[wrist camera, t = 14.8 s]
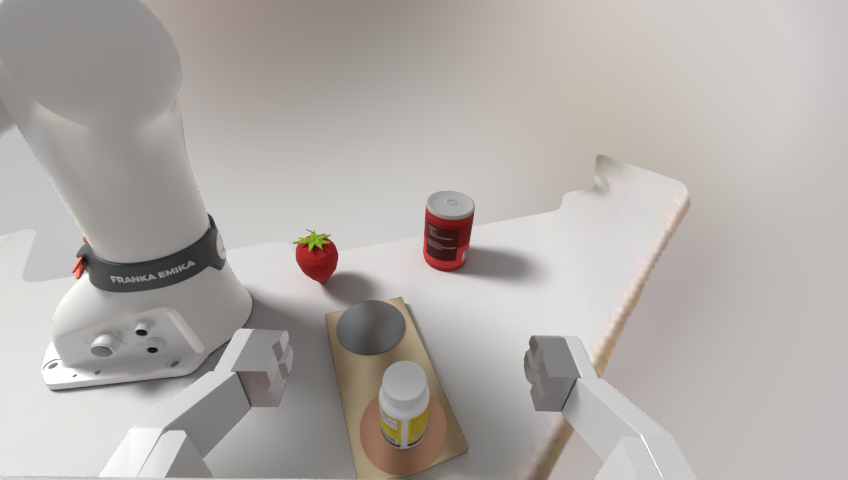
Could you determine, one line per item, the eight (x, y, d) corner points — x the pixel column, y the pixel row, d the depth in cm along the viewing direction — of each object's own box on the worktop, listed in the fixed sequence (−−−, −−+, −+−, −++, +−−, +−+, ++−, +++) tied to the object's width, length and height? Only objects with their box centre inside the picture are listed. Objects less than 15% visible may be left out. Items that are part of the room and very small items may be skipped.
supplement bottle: (425, 403, 39) (430, 356, 34) (427, 450, 35) (433, 404, 30) (381, 404, 39) (380, 356, 34) (378, 450, 35) (376, 404, 30)
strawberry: (308, 304, 52) (297, 249, 46) (296, 272, 57) (285, 220, 51) (347, 291, 54) (341, 238, 48) (333, 262, 59) (326, 211, 54)
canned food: (458, 241, 66) (464, 188, 60) (473, 269, 60) (483, 213, 54) (417, 246, 64) (420, 192, 58) (429, 275, 58) (434, 218, 52)
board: (361, 500, 33) (360, 494, 32) (325, 317, 50) (323, 310, 49) (469, 457, 36) (470, 450, 35) (400, 300, 53) (400, 293, 52)
